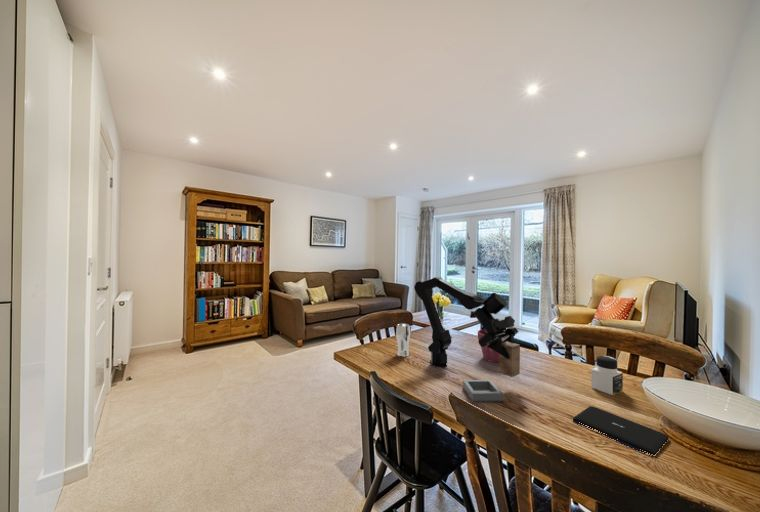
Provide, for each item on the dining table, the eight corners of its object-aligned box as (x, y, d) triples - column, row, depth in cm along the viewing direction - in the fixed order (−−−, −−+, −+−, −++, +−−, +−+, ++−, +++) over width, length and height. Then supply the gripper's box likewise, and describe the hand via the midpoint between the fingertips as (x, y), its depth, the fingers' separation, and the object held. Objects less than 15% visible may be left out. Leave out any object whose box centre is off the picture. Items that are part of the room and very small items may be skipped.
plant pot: (472, 358, 136) (472, 332, 136) (484, 351, 147) (484, 327, 147) (503, 366, 127) (503, 338, 127) (513, 358, 137) (513, 332, 137)
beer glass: (411, 353, 144) (411, 324, 144) (408, 358, 137) (408, 327, 137) (398, 351, 146) (398, 322, 146) (394, 356, 139) (394, 326, 139)
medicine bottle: (613, 396, 100) (613, 362, 100) (590, 387, 107) (590, 355, 107) (623, 391, 104) (623, 358, 104) (600, 383, 110) (600, 352, 110)
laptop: (646, 463, 68) (646, 455, 68) (564, 419, 87) (564, 413, 87) (679, 446, 75) (679, 438, 75) (595, 408, 93) (595, 402, 93)
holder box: (472, 402, 96) (472, 393, 96) (462, 388, 106) (463, 380, 106) (503, 402, 96) (503, 393, 96) (490, 387, 106) (490, 379, 106)
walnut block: (499, 372, 107) (499, 343, 106) (507, 369, 109) (507, 341, 109) (511, 377, 102) (512, 347, 102) (519, 374, 105) (519, 344, 105)
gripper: (485, 312, 104) (513, 350, 95) (514, 307, 114) (542, 341, 105) (467, 328, 110) (492, 366, 101) (496, 322, 121) (521, 356, 112)
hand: (513, 356), depth 105 cm, fingers closed on walnut block, 5 cm apart
